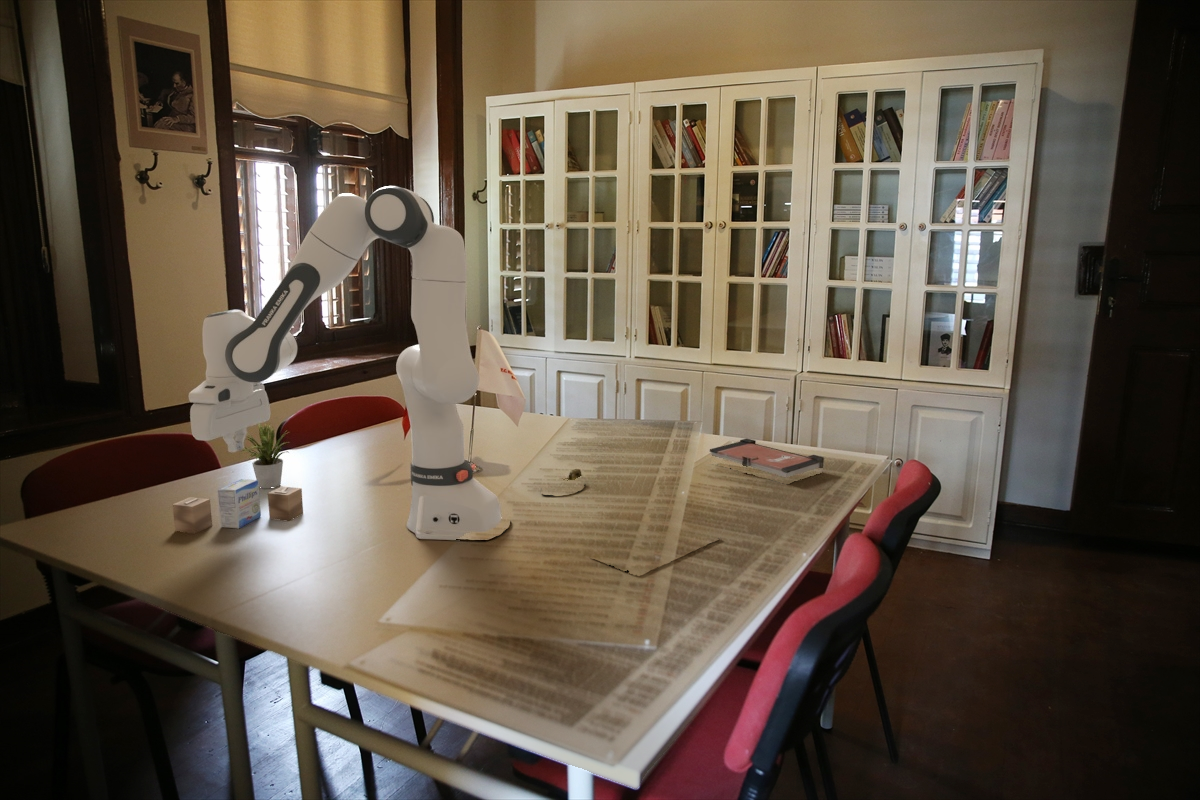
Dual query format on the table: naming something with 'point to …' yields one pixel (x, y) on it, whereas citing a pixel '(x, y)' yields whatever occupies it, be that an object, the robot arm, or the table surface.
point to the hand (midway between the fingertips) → (236, 450)
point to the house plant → (267, 458)
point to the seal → (574, 474)
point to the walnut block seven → (285, 503)
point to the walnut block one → (192, 515)
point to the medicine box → (239, 503)
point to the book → (768, 458)
